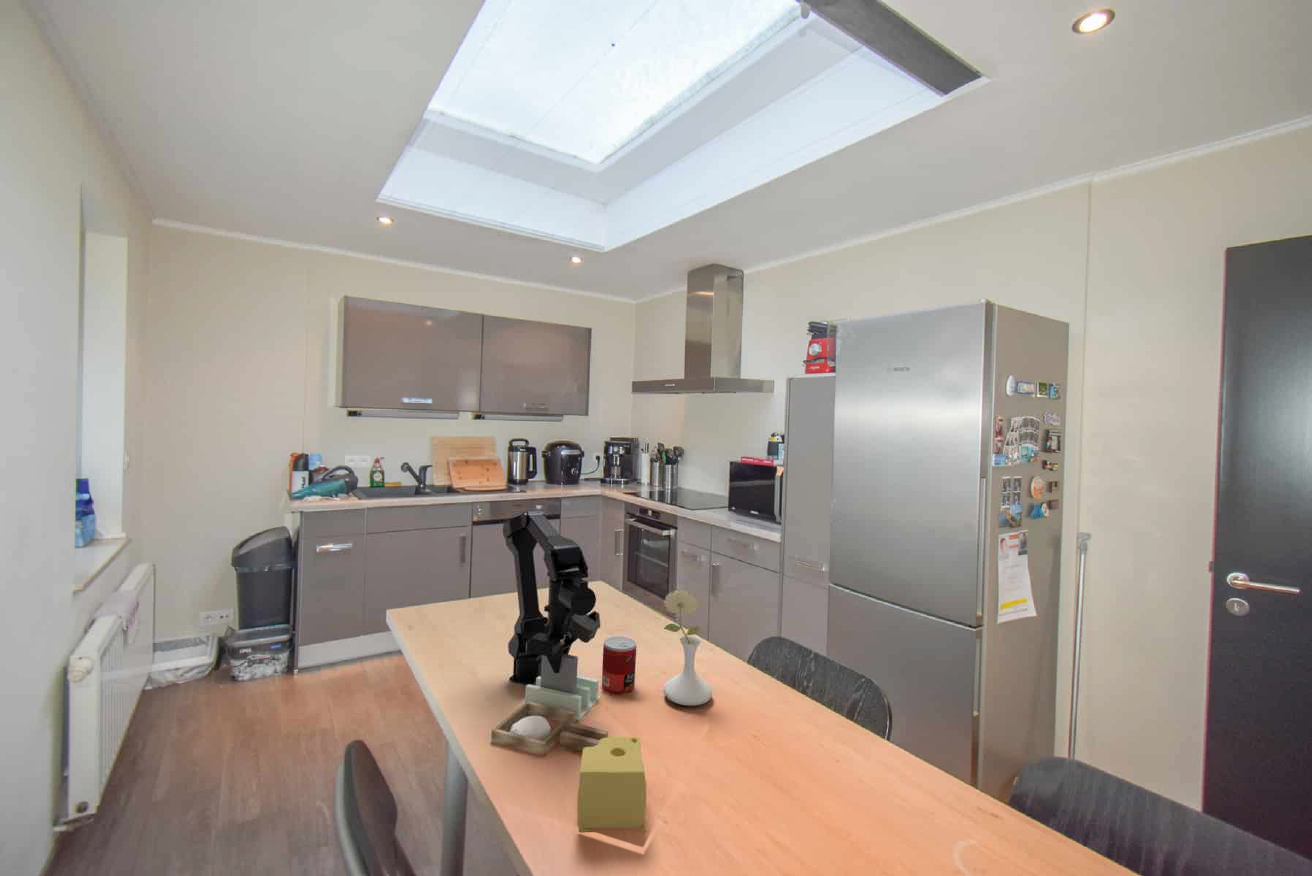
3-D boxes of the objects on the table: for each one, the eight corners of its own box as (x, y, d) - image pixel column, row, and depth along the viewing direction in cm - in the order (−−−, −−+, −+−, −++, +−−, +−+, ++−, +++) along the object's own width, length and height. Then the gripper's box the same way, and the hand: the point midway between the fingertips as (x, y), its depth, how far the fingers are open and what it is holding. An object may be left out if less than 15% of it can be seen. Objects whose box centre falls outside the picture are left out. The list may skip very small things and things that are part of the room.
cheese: (578, 791, 98) (581, 734, 98) (641, 791, 99) (643, 734, 99) (575, 835, 88) (578, 772, 88) (645, 834, 89) (647, 772, 89)
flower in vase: (718, 694, 136) (724, 590, 135) (701, 716, 125) (707, 603, 124) (668, 681, 141) (673, 581, 140) (648, 701, 131) (653, 593, 130)
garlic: (514, 752, 109) (515, 733, 109) (504, 735, 115) (505, 716, 115) (554, 742, 113) (555, 723, 113) (543, 725, 119) (543, 708, 119)
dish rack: (521, 709, 124) (522, 687, 124) (547, 687, 135) (548, 667, 134) (578, 724, 120) (579, 700, 119) (600, 700, 130) (601, 678, 130)
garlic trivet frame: (491, 745, 110) (491, 730, 110) (526, 714, 122) (527, 700, 122) (543, 760, 107) (544, 744, 106) (575, 726, 118) (575, 712, 118)
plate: (540, 688, 126) (542, 652, 125) (544, 684, 127) (545, 649, 127) (572, 695, 123) (574, 659, 123) (576, 692, 124) (577, 656, 124)
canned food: (630, 697, 132) (632, 650, 132) (597, 692, 134) (599, 646, 133) (637, 682, 140) (639, 638, 139) (606, 678, 141) (608, 634, 141)
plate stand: (557, 752, 109) (558, 735, 109) (572, 736, 115) (573, 720, 115) (595, 762, 107) (596, 745, 107) (608, 745, 112) (609, 729, 112)
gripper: (574, 620, 113) (571, 698, 113) (612, 594, 130) (609, 661, 131) (525, 611, 116) (522, 686, 117) (569, 587, 134) (566, 652, 135)
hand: (558, 670), depth 125 cm, fingers closed on plate, 2 cm apart
